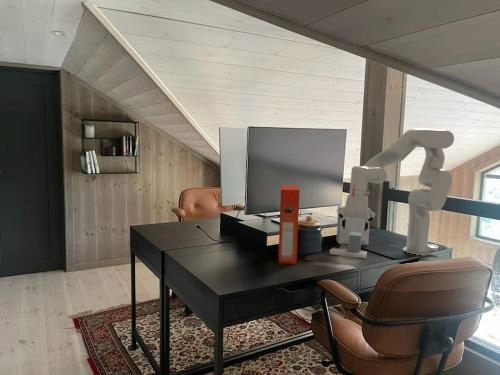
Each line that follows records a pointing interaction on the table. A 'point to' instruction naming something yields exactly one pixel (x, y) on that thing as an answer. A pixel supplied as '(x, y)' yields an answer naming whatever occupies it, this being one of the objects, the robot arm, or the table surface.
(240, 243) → the table surface
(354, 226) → the hard drive box
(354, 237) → the carton
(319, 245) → the canister
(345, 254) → the shelf board
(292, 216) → the file binder
